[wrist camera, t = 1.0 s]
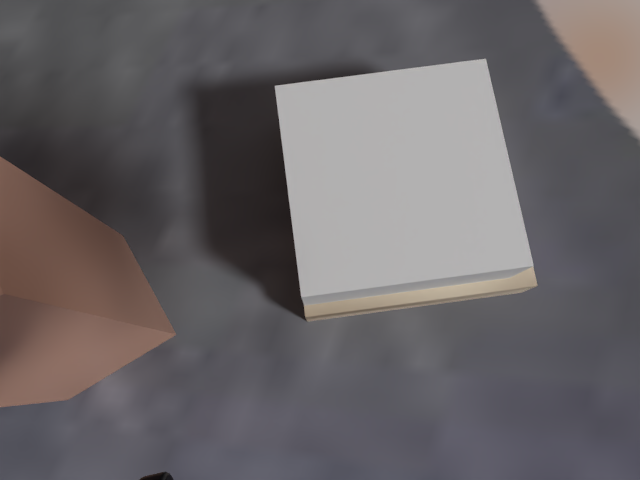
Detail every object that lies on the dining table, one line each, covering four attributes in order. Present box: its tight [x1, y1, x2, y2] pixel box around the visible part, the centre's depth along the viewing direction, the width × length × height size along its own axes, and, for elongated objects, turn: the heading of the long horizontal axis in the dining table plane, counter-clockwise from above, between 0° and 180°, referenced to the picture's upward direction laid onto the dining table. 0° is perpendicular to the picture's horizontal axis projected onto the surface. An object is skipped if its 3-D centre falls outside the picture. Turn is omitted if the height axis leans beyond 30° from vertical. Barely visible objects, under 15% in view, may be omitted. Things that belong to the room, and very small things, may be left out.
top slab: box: [275, 59, 534, 306], centre depth 20 cm, size 8×8×2 cm
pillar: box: [0, 157, 176, 407], centre depth 17 cm, size 5×5×12 cm
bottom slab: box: [304, 267, 537, 322], centre depth 23 cm, size 9×9×2 cm
